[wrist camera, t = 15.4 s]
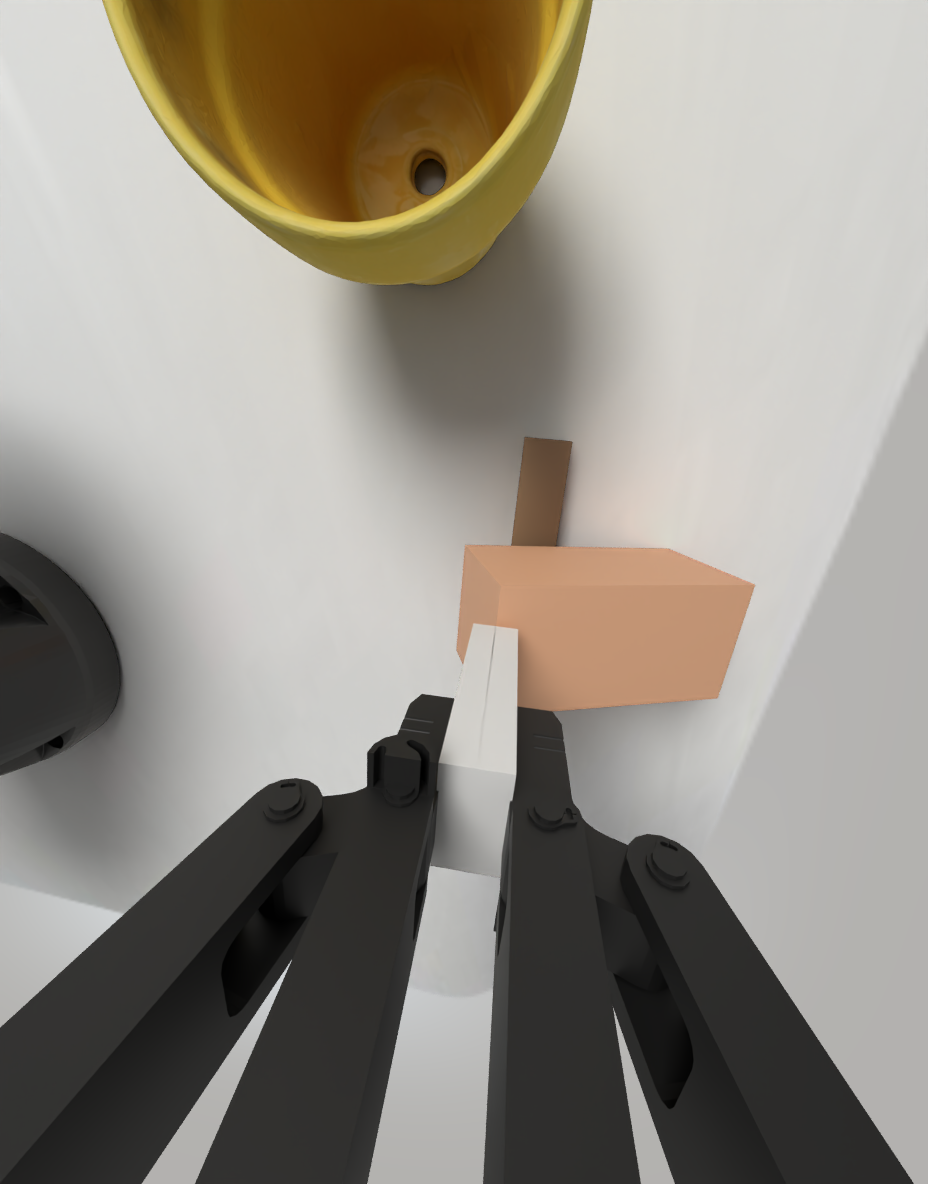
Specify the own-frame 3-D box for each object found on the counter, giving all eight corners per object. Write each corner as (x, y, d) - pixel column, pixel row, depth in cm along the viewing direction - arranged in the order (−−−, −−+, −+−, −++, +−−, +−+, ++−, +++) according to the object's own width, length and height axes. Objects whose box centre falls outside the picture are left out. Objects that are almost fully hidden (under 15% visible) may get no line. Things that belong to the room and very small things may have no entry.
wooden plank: (492, 697, 25) (490, 713, 24) (524, 437, 20) (524, 437, 19) (527, 702, 25) (527, 718, 23) (569, 441, 20) (572, 441, 18)
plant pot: (573, -20, 15) (650, -731, 6) (556, 328, 18) (588, 227, 9) (286, 22, 16) (-20, -504, 7) (322, 340, 20) (149, 261, 11)
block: (485, 716, 16) (717, 698, 18) (500, 586, 14) (755, 584, 16) (456, 649, 20) (644, 642, 23) (465, 545, 18) (668, 548, 21)
